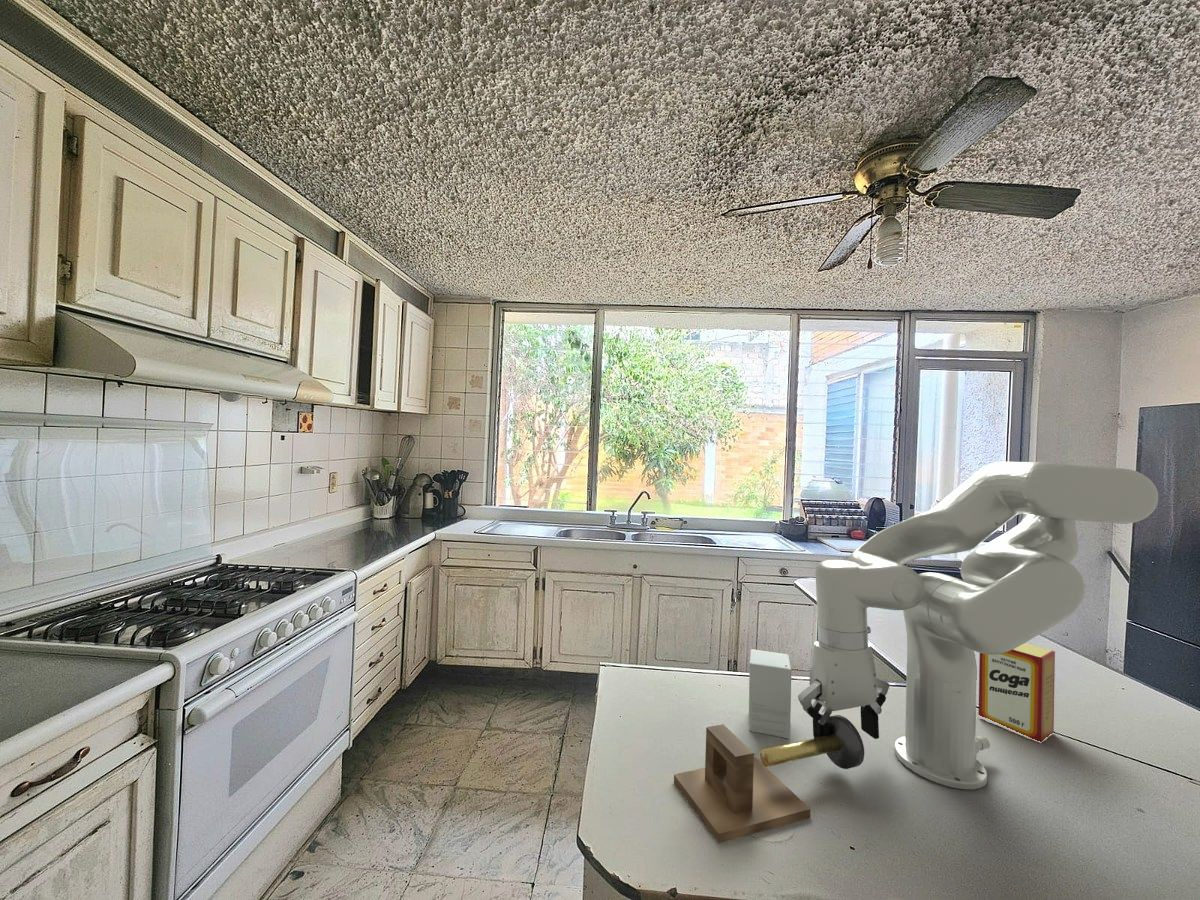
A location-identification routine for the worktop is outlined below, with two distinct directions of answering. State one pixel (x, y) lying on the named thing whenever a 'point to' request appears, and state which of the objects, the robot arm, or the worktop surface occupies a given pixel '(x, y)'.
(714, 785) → the eye post
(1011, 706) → the baking soda box
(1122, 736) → the worktop surface
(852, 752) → the brass peg with disc
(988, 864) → the worktop surface
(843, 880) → the worktop surface
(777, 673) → the supplement box
